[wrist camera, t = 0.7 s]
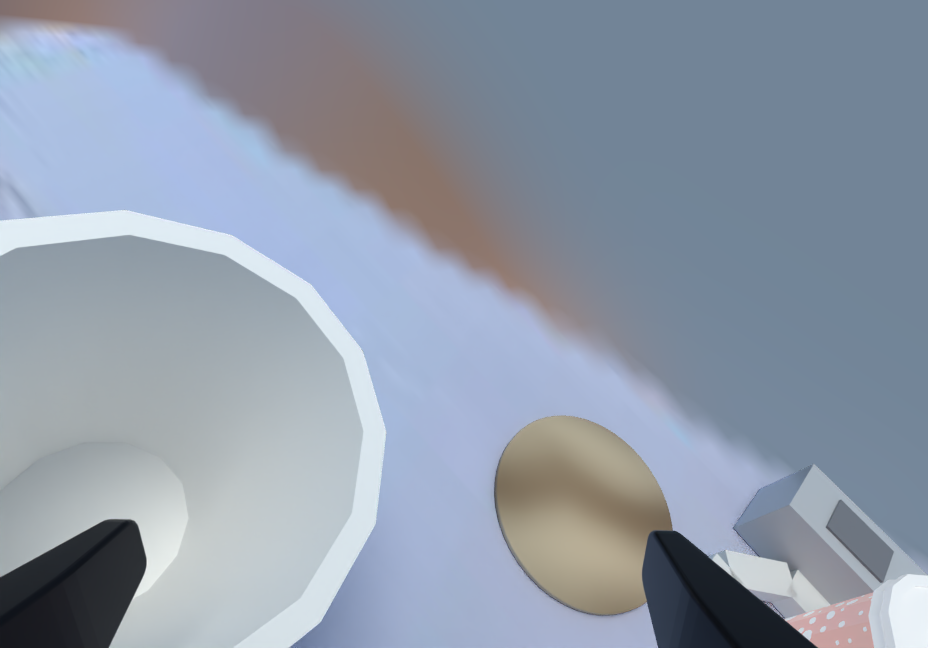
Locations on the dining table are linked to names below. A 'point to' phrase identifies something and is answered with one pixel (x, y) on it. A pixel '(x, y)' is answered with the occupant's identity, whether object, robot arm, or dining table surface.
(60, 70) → the dining table surface
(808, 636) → the beverage cup
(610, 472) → the coaster
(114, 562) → the robot arm
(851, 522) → the socket
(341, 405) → the foam cup
